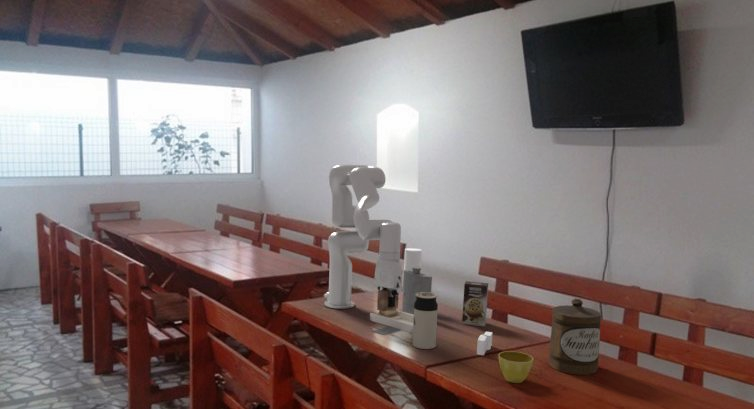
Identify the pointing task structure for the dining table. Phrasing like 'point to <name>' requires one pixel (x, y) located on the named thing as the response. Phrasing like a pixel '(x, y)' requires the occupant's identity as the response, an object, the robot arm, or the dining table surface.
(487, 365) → the dining table surface
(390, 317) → the offcut low
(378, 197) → the robot arm
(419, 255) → the cylindrical container
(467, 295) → the coffee box
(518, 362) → the flower pot
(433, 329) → the travel mug
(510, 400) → the dining table surface
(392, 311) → the offcut top
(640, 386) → the dining table surface
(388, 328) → the mat
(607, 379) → the dining table surface
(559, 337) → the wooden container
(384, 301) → the brown wooden block
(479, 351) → the napkin holder
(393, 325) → the rack
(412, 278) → the hip flask
